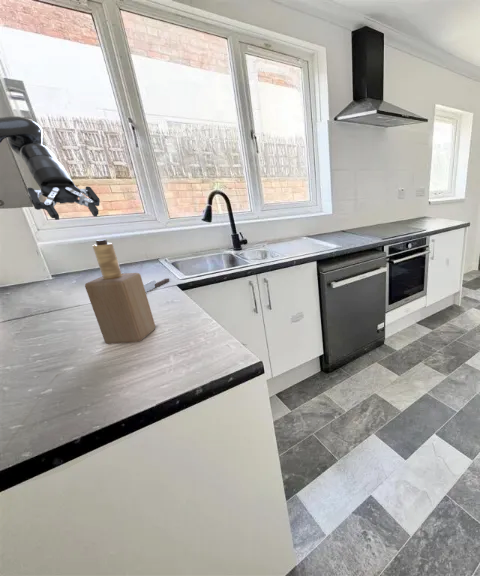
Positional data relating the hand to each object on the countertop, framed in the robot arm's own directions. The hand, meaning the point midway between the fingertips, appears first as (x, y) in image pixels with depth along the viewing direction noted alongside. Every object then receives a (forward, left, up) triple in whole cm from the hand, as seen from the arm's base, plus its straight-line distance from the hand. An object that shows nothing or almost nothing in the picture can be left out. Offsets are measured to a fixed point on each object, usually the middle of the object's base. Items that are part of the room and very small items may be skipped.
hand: (77, 216), depth 90 cm
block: (+5, -8, -38) cm, 39 cm away
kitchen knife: (+4, +43, -38) cm, 58 cm away
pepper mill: (+5, -8, -18) cm, 20 cm away
